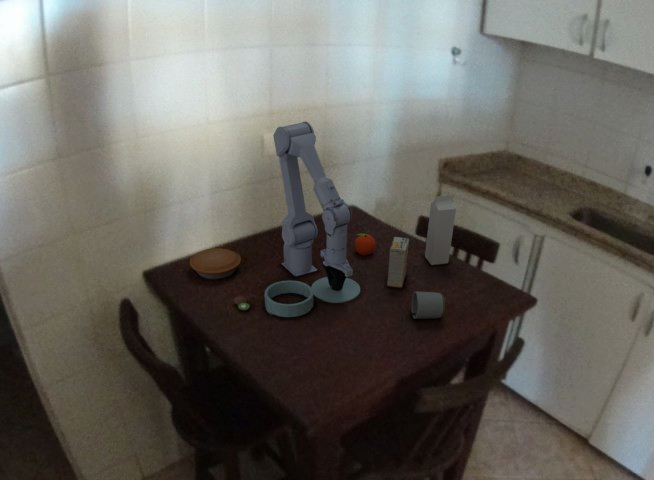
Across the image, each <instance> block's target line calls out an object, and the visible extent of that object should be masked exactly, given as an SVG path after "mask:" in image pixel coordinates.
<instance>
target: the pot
mask: <svg viewBox="0 0 654 480" xmlns="http://www.w3.org/2000/svg"><path fill="white" fill-rule="evenodd" d="M282 294H283V295H284V294H298V295H301V296H304V298H306V299H304V300H303V301H300V302H297V303H281V302H278V301H274V300H273V298H274V297H276V296H279V295H282ZM264 307H265V310H266V311H267V313H269V314H270V315H272V316H273V315H275V316H278V317H283V318H295V317H300V316H303V315H305V314H308V313H309V312H310V311H311V310H312V309H313V307H314V295H313V290H312V288H311V285H309V284H307V283H305V282H303V281H299V280H291V279H290V280H281V281H276V282H274V283H272V284H270V285H268V286H267V287H266V289H265V290H264Z"/></svg>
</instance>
